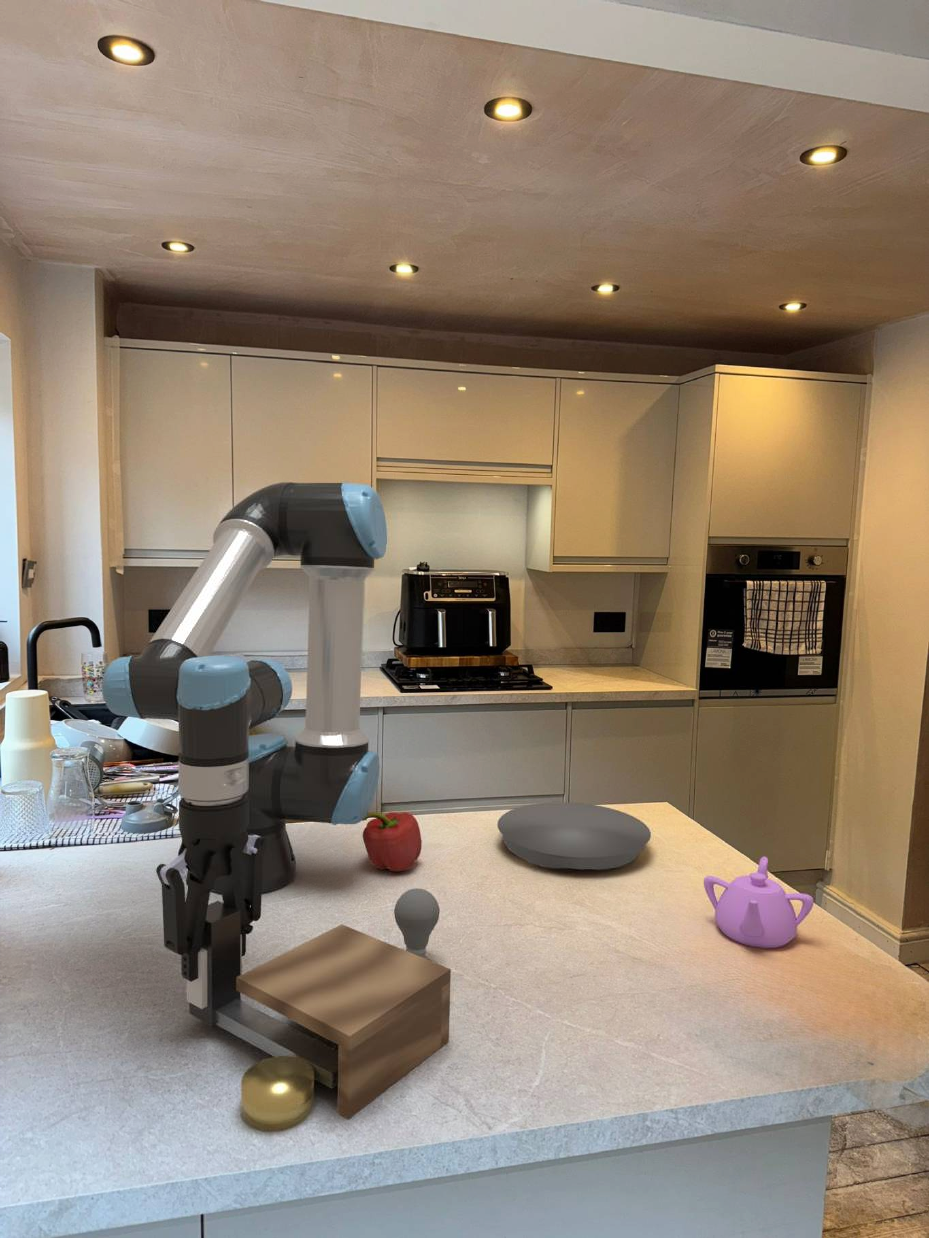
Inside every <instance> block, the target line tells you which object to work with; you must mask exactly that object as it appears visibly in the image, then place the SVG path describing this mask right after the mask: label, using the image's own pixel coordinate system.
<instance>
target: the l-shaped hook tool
mask: <svg viewBox="0 0 929 1238" xmlns="http://www.w3.org/2000/svg"><path fill="white" fill-rule="evenodd" d="M201 948H203V949H205V950H207V1007H205V1008H203V1009H201V1008H199V1007H197V1006H195V1005H194V1004H192V1003H190V1002H188V1003H189V1004H188V1005H189V1008H188V1009H189V1015H190V1016H192V1017H195V1018H196V1019H198V1020H200V1021H201V1022H203V1023H205V1024H207V1025H209V1026H211V1027H213V1026H215V1025H216V1026H218V1027H220V1028H221V1029H224V1030H225V1031H227V1032H229V1033H231V1034H232V1035H235V1036H236V1037H238V1038H240V1039H241V1040H244V1041H245V1042H247V1043H248V1044H251V1045H252V1046H254V1047H256V1048H258V1049H259V1050H262V1051H263V1052H265V1053H266V1054H269V1055H271V1056H272V1057H278V1056H291V1057H296V1058H300V1059H302V1060H304V1061H306V1062H307V1063H308V1064H310V1066H311V1067H312V1069H313V1071H314V1081H317V1082H319V1083H321V1084H323V1085H325V1086H326V1087H329V1088H331V1089H333V1088H335V1087H337V1086H338V1049H336V1048H333V1047H331V1046H330V1045H327V1044H326V1043H324V1042H321V1041H319V1040H318V1039H316V1038H314V1037H311V1035H308V1034H306V1033H304V1032H303V1031H300V1030H298V1029H296V1028H294V1027H292V1026H290V1025H289V1024H287V1023H285V1022H283V1021H281V1020H280V1019H278V1018H275V1017H273V1016H271V1015H269V1014H267V1013H265V1012H264V1011H261V1010H260V1009H257V1008H256V1007H254V1006H252V1005H250V1004H248V1003H245V1002H244V1001H242V1000H241V996H242V995H241V993H240V992H238V991H237V990H236V977H238V976H240V910H239V909H236V908H234V907H232V906H229V905H227V904H224V903H223V901H222V902H221V901H220V900H217V901H214V902H212V903H208V908H207V914H206V920H205V926H204V932H203V938H202V944H201Z"/></svg>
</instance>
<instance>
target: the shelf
mask: <svg viewBox="0 0 929 1238" xmlns="http://www.w3.org/2000/svg"><path fill="white" fill-rule="evenodd" d="M451 971H452V969H451V968H449V967H446V966H443V965H441V964H439V963H436V962H434V961H431V960H429V959H427V958H426V959H425V958H422V957H420V956H417V955H415V954H412V953H410V952H408V951H406V949H402V948H401V947H398V946H395V945H393V944H391V943H387V942H386V941H383V940H382V939H381V940H380V939H378V938H376V937H373V936H371V935H369V934H366V933H364V932H361V931H359V930H357V929H354V928H352V927H349V926H347V925H345V924H339V925H337V926H336V927H335V926H334V928H332V929H330V930H328V931H325V932H324V933H322V934H319V935H317V936H316V937H314V938H312V939H309V940H308V941H306V942H304V943H302V944H300V945H298V946H296V947H293V948H292V949H289V950H287V951H286V952H284V953H282V954H280V955H277V956H276V957H274V958H272V959H270V960H268V961H266V962H264V963H261V964H260V965H258V966H256V967H254V968H252V969H250V970H248V971H246V972H244V973H242V975H240V976H238V977H236V990H237V991H238V992H240V994H242V995H245V996H246V997H247V998H250V999H252V1000H254V1001H255V1002H257V1003H259V1004H261V1005H263V1006H265V1007H267V1008H269V1009H270V1010H273V1012H274V1011H275V1012H276V1013H278V1014H279V1015H281V1016H283V1017H285V1018H287V1019H289V1020H291V1021H292V1022H294V1023H296V1024H298V1025H300V1026H303V1027H304V1028H306V1029H308V1030H309V1031H311V1032H313V1033H315V1034H316V1035H319V1036H321V1037H323V1038H324V1039H327V1040H328V1041H330V1042H332V1043H334V1044H336V1045H338V1046H337V1047H338V1049H337V1051H338V1085H337V1113H338V1114H340V1115H341V1116H343V1117H345V1118H346V1119H348V1120H349V1119H351V1118H352V1117H353V1116H355V1115H356V1114H357V1113H359V1112H360V1111H361V1110H362V1109H364V1108H365V1107H366V1106H368V1105H369V1104H370V1103H371V1102H373V1101H374V1100H375V1099H376V1098H378V1097H379V1096H380V1095H382V1094H383V1093H385V1092H386V1091H387V1090H388V1089H390V1088H391V1087H392V1086H394V1085H395V1084H396V1083H397V1082H399V1081H400V1080H401V1079H402V1078H403V1077H406V1075H407V1074H409V1073H410V1072H411V1071H413V1070H414V1069H416V1067H418V1066H419V1065H420V1064H422V1063H423V1062H424V1061H426V1060H427V1059H428V1058H429V1057H431V1056H432V1055H433V1054H435V1053H436V1052H437V1051H439V1050H440V1049H441V1048H442V1047H444V1046H445V1045H446V1044H447V1043H449V1041H450V1009H451V982H452V981H451V978H452V977H451V975H452V973H451Z"/></svg>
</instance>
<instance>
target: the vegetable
mask: <svg viewBox="0 0 929 1238" xmlns="http://www.w3.org/2000/svg"><path fill="white" fill-rule="evenodd" d="M369 818H372V819H371V820H369V821H367V820H368V819H369ZM363 821H367V823H366V827H364V829H363V832H362V840H363V844H364V846H365V850H366V852H367V856H368V859H369V861H370V862H371V864H372V865H373V866H374V867H375V868H377V869H380V870H384V869H389V870H390V871H391V872H394V873H395V872H396V873H398V872H402V871H407V870H408V869H410V868H412V867H413V865H414V864H415V862H416V861H417V860H418V858H419V857H420V855H421V851H422V843H423V841H422V835H421V830H420V826H419V823H418V820H417V818H416V817H415V816H414V815H413V814H412V813H409V812H402V813H401V812H399V813H398V812H392V811H391V812H388V813H387V814H385V815H384V814H383V813H379V812H376V811H375V812H368V813H367V815H366V817H365V818H364V819H363V820H362V821H361V822H363Z"/></svg>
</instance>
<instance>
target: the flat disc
mask: <svg viewBox="0 0 929 1238" xmlns="http://www.w3.org/2000/svg"><path fill="white" fill-rule="evenodd" d="M496 826H497V829H498V831H499V832H500V834H501V835H502V839H503V842H504V844H505V846H507V848H508V850H509V851H510V852H511V853H513V854H514V855H516V856H517V857H518V858H520V859H525V861H526V862H528V863H531V864H532V865H534V866H536V865H537V866H541V867H543V868H548V869H572V870H573V869H576V870H580V871H581V870H588V869H589V870H595V871H601V870H610V869H612V868H616V869H617V868H620V867H624V866H625V865H626V864H629V863H631V862H633V861H634V860H635V859H636V858H637V857H638V855H639V854H640V852H641V853H642V852H643V851H644V849H645V846H646V845H647V844H648V843H649V841H650V839H651V837H652V835H651V834H652V832H651V830H650V828H649V827H648V825H646V824H645V823H644V822H643V821H642V820H640V819H638V818H637V817H635V816H633V815H630V814H629V813H626V812H624V811H620V810H617V809H614V808H611V807H606V806H602V805H596V804H590V803H584V802H583V803H579V802H565V801H562V802H561V801H559V802H558V801H555V802H553V801H552V802H539V803H538V802H537V803H534V804H533V803H532V804H526V805H522V806H519V807H516V808H514V809H510V810H509V811H506V812H505V813H504V814H502V815H501V816H500V817H499V819H498V820H497V825H496Z"/></svg>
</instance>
